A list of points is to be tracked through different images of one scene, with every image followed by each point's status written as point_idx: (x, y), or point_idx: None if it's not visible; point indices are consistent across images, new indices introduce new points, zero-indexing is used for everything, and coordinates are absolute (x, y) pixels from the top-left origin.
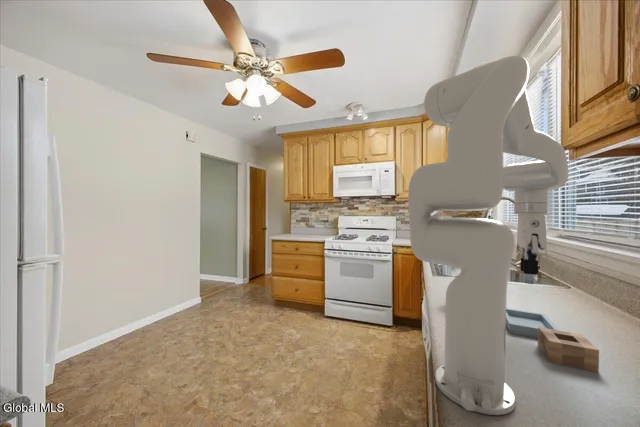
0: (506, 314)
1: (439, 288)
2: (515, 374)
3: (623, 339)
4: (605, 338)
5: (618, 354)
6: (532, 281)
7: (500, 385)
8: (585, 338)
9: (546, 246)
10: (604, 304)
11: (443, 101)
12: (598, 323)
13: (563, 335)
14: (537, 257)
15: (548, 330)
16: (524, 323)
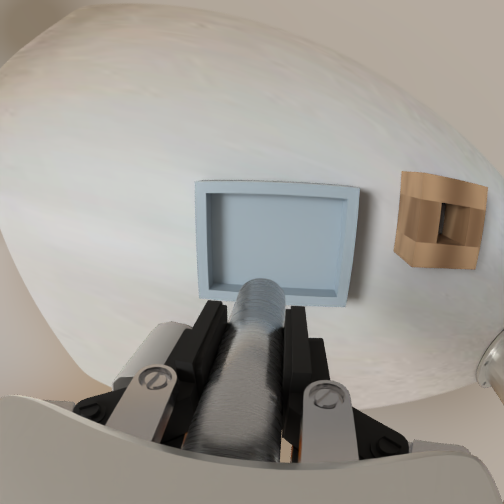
0: None
1: (86, 372)
2: (485, 313)
3: (242, 32)
4: (258, 64)
5: (361, 85)
6: (284, 299)
7: None
8: (444, 177)
9: (489, 475)
10: (27, 47)
11: None
12: (142, 53)
13: (437, 221)
14: (349, 410)
15: (426, 249)
16: (271, 248)
